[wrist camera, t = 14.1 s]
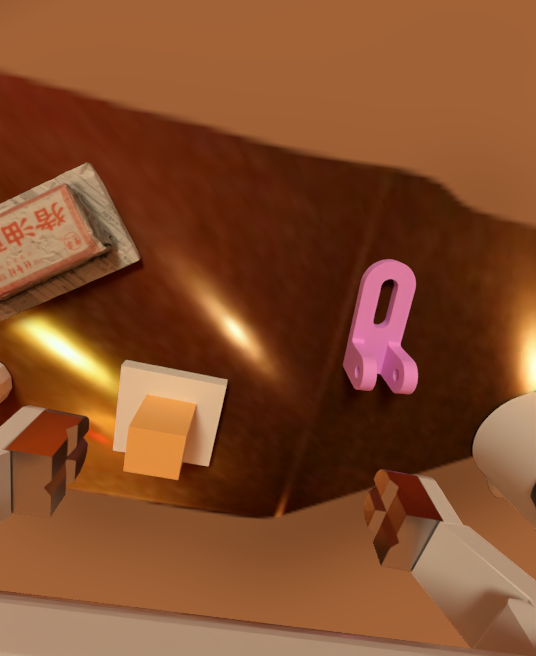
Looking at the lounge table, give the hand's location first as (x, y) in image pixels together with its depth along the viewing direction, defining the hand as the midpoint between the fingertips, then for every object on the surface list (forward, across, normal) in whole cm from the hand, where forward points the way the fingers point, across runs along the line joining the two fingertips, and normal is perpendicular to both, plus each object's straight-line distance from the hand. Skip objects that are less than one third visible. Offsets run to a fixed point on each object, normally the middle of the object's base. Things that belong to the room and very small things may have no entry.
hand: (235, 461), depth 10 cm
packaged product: (+30, +21, +3) cm, 37 cm away
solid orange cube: (+28, +6, +20) cm, 35 cm away
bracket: (+30, -15, +2) cm, 33 cm away
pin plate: (+29, +6, +20) cm, 36 cm away
